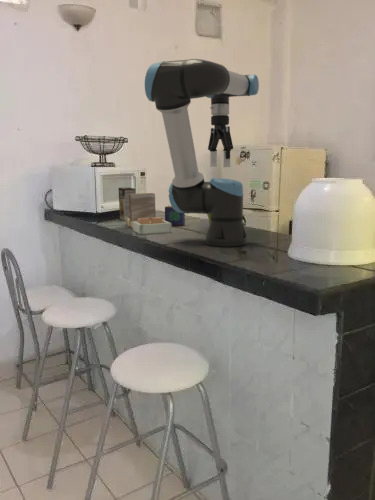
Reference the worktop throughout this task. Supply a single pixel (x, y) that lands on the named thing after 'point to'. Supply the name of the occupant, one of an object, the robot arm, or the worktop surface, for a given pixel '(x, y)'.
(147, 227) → the tray
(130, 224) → the board
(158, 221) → the tile
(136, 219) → the tan block
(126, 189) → the coffee box
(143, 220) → the tile
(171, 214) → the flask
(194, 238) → the worktop surface
